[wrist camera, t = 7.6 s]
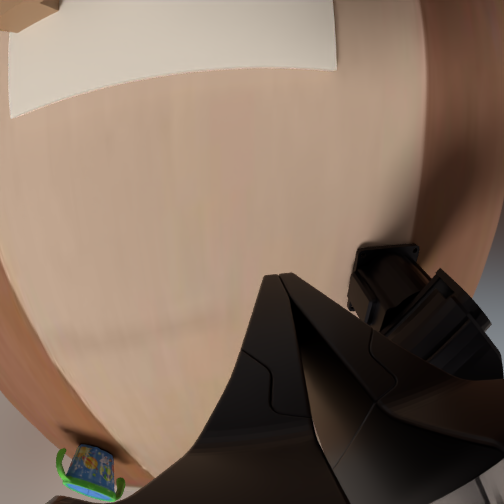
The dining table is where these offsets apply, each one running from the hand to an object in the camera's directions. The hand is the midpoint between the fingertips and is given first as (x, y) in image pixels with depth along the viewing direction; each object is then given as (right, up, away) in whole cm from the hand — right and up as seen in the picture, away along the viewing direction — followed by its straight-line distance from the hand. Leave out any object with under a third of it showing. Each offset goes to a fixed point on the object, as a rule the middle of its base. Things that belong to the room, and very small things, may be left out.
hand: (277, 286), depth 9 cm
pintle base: (-7, +19, +3) cm, 21 cm away
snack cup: (-31, -38, +32) cm, 59 cm away
